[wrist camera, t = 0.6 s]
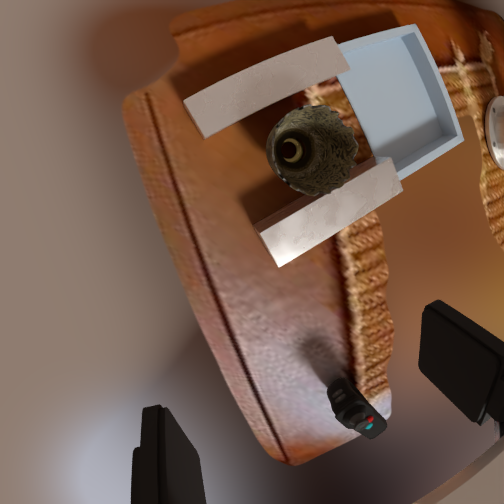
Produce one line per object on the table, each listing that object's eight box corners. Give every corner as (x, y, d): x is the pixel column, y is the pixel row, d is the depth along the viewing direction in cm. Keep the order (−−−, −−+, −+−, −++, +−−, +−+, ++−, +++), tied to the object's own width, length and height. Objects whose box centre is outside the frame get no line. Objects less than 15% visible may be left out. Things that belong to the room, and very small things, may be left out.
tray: (401, 29, 28) (415, 23, 25) (448, 139, 34) (464, 140, 31) (323, 53, 28) (334, 45, 25) (382, 179, 34) (397, 182, 31)
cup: (334, 155, 32) (374, 157, 24) (285, 200, 32) (313, 214, 25) (290, 101, 29) (321, 86, 22) (237, 146, 30) (252, 143, 22)
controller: (334, 360, 40) (367, 408, 31) (370, 395, 45) (399, 435, 35) (310, 380, 41) (338, 430, 31) (349, 411, 45) (376, 453, 36)
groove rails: (318, 45, 28) (332, 35, 24) (385, 186, 34) (403, 190, 31) (184, 106, 27) (183, 100, 24) (270, 256, 34) (278, 267, 31)
